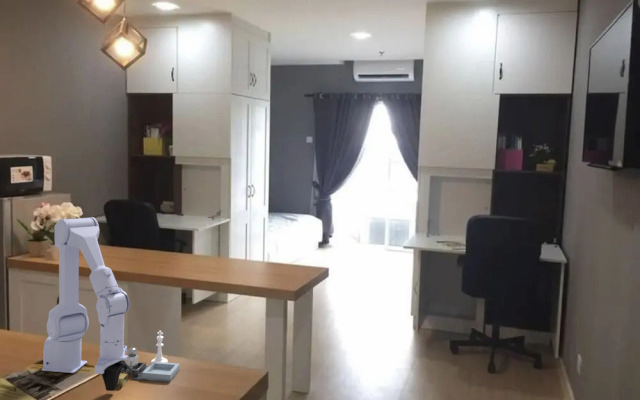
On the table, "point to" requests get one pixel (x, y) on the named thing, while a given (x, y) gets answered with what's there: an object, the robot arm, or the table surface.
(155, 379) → the tray
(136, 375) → the socket
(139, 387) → the table surface
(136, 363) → the stepped metal cylinder
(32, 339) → the table surface
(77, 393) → the table surface
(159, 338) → the chess piece
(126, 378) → the tan stepped block
